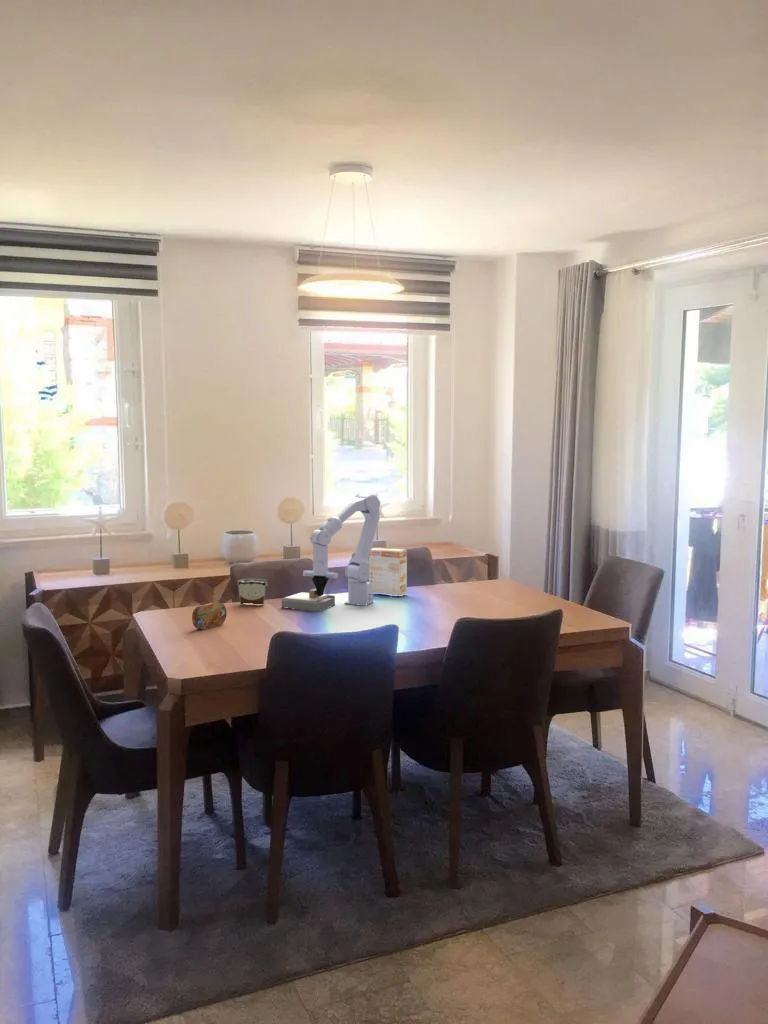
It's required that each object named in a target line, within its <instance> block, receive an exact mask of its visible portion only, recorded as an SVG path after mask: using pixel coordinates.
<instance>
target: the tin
mask: <svg viewBox="0 0 768 1024" xmlns="http://www.w3.org/2000/svg"><path fill="white" fill-rule="evenodd" d="M191 617H192V618H191V619H192V620H191V621H192V622H191V623H192V624H193V627H194V628H195V629H197V630H203V631H206V630H209V629H212V628H216V626H217V627H220V626H222V625H223V624H224V622H225V621H226V618H227V608H226V606H225V604H224V603H223V602H220V601H216V602H215V601H214V602H209V603H205V604H202V605H198V606H196V607H195V608H194V609H193V611H192V615H191ZM219 625H220V626H219ZM205 629H206V630H205Z"/></svg>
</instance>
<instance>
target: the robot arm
mask: <svg viewBox="0 0 768 1024" xmlns="http://www.w3.org/2000/svg"><path fill="white" fill-rule="evenodd" d="M380 506H381V501H380V499H379V498H378V496H377V495H376V494H366V493H357V494H355V496H354V497H353V498H351V500H350V502H349V503H348V504H347V505H346V506H345V507H344V508H343V510H341V511H340V513H338V514H337V516H331V517H328V518H327V521H326V522H325V523H323V524H322V525H320V526H319V527H318V529H314V531H313V532H312V533H311V534H310V536H309V541H310V542H311V544H312V570H303V571H302V577H312V578H311V581H312V582H313V585H314V587H315V588H316V590H317V594H318V596H322V595H323V594H324V592H325V588H326V585H327V583H328V581H329V579H334V580H335V579H338V578H339V573H338V572H332V571H329V566H328V565H329V564H328V563H329V561H328V560H329V559H328V558H329V554H328V552H329V547H328V546H329V544H330V543H331V541H332V538H333V536H335V535H336V534H337V533H338V532H339V531H340V530H341V529H342V527H343V523H345V521H347V520H348V519H350V517H352V516H353V515H354V514H355V513H357V512H360V513H361V514H362V515H363V518H364V522H363V526H362V528H361V533H360V536H359V540H358V543H357V546H356V550H355V554H354V556H352V557H351V558H350V559H349V562H348V564H347V565H346V566H345V569H344V574H345V575H344V576H346V578H347V581H348V583H347V584H348V585H347V588H348V589H347V590H348V594H347V595H348V597H347V598H348V600H347V601H345V602H344V603H348V604H347V605H354V604H359V605H358V606H367V605H366V604H368V605H370V604H372V603H371V602H373V601H374V599H373V598H374V594H373V586H372V583H370V582H369V581H368V580H369V576H370V563H369V554H370V550H371V549H372V548H373V542H374V541H375V540H374V539H375V536H376V533H377V528H378V526H379V525H378V524H379V522H380V518H381V516H380V508H381V507H380ZM369 603H370V604H369ZM373 603H374V602H373Z"/></svg>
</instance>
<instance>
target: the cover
mask: <svg viewBox="0 0 768 1024" xmlns="http://www.w3.org/2000/svg"><path fill="white" fill-rule="evenodd" d="M308 591H309V592H298V593H294V594H292V595H287V596H285V597H284V598H286V599H297V600H307V601H318V600H321V599H324V598H327V597H328V595H329V594H324V593H323V595H322V596H318V594H317V590H316V587H315V588H311V589H309V590H308Z"/></svg>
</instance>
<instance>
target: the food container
mask: <svg viewBox="0 0 768 1024" xmlns="http://www.w3.org/2000/svg"><path fill="white" fill-rule="evenodd" d="M236 586H237V587H238V596H239V604H243V603H253V604H264V605H265V597H266V590H267V589H266V588H267V587H268V586H269V585H268V581H267V579H264V578H242V579H238V580H237V583H236ZM266 586H267V587H266Z"/></svg>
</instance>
